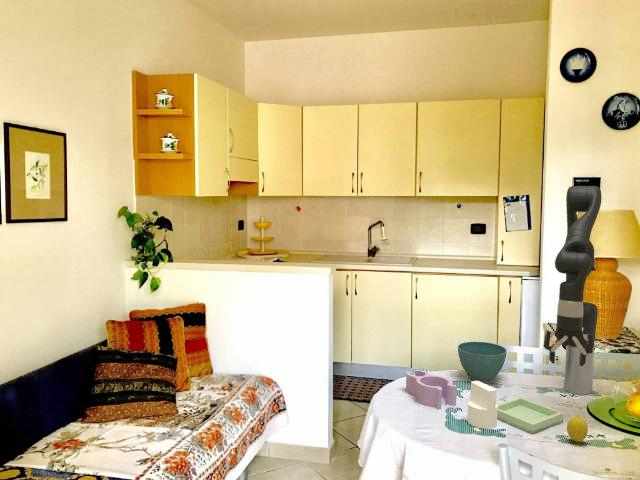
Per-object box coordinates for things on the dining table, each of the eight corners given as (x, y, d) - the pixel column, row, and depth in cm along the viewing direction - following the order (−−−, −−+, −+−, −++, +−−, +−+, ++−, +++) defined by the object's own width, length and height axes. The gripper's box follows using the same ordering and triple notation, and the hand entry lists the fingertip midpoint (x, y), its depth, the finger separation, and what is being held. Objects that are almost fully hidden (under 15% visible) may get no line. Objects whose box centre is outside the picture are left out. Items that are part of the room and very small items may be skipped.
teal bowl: (495, 390, 200) (497, 358, 198) (449, 379, 211) (450, 348, 209) (511, 377, 214) (513, 347, 213) (467, 367, 225) (468, 338, 224)
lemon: (562, 438, 162) (563, 412, 161) (580, 437, 162) (581, 411, 161) (572, 446, 156) (574, 420, 156) (590, 446, 157) (592, 419, 156)
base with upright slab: (461, 419, 175) (462, 382, 173) (483, 414, 178) (485, 379, 177) (480, 430, 166) (481, 392, 165) (503, 425, 170) (504, 388, 169)
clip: (397, 391, 198) (398, 373, 198) (424, 385, 204) (424, 368, 204) (433, 411, 181) (434, 391, 180) (461, 404, 187) (462, 385, 186)
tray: (519, 405, 186) (520, 396, 186) (563, 422, 173) (563, 413, 173) (489, 415, 177) (489, 406, 177) (532, 434, 164) (532, 424, 164)
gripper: (590, 314, 176) (587, 363, 177) (544, 310, 179) (541, 359, 180) (597, 318, 169) (593, 369, 169) (548, 314, 172) (545, 365, 172)
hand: (566, 364), depth 175 cm, fingers open, 8 cm apart
